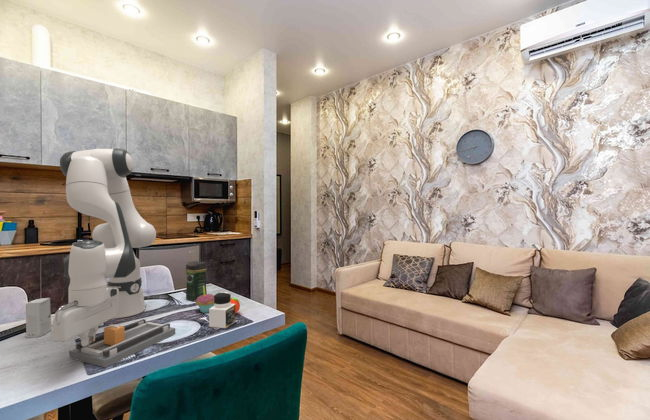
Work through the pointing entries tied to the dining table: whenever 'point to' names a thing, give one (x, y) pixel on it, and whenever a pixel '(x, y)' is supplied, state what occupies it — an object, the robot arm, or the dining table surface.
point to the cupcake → (205, 301)
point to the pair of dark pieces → (129, 342)
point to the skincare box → (38, 317)
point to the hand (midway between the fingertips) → (88, 343)
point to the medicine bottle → (222, 311)
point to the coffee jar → (195, 279)
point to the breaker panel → (95, 351)
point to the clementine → (236, 304)
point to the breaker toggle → (114, 334)
